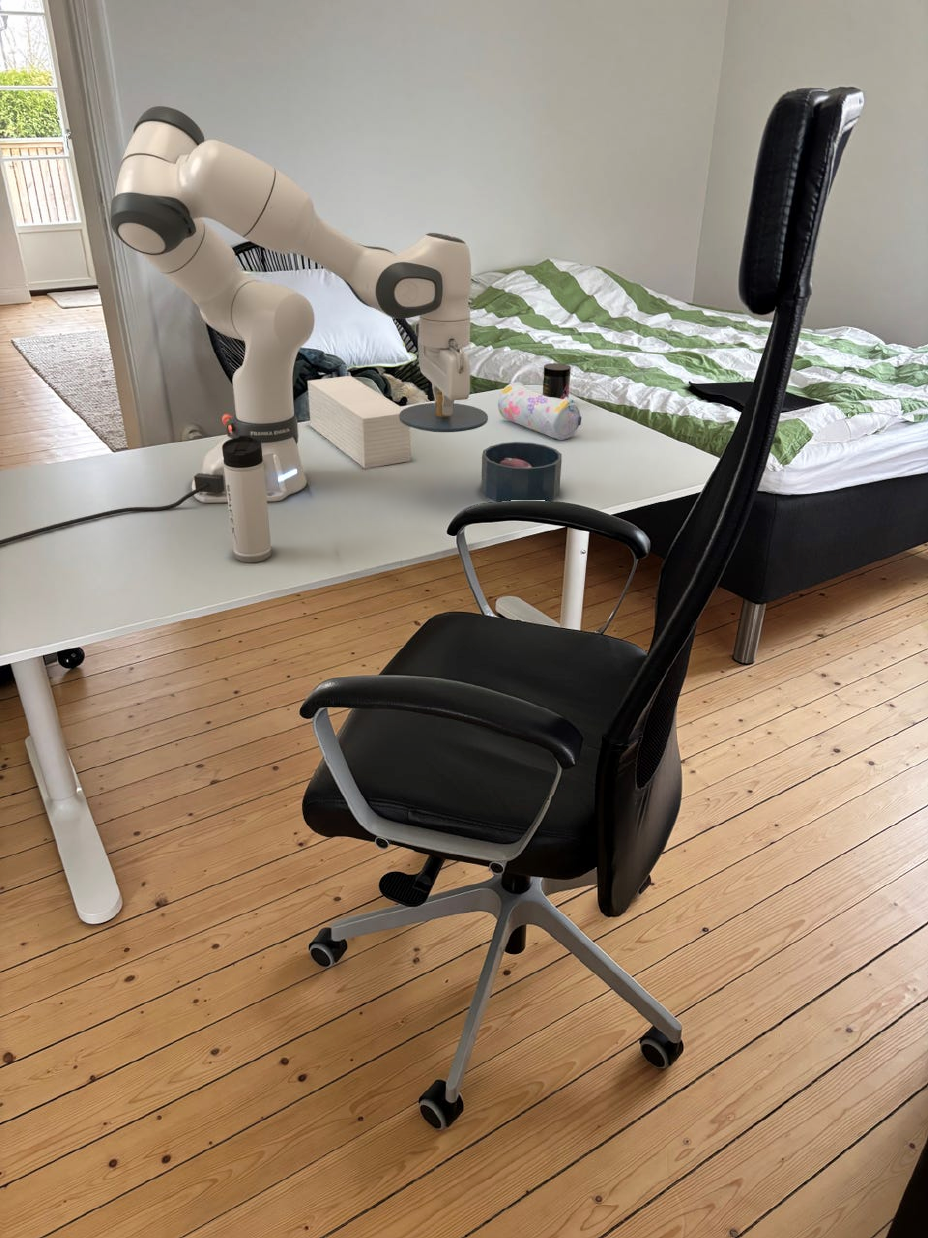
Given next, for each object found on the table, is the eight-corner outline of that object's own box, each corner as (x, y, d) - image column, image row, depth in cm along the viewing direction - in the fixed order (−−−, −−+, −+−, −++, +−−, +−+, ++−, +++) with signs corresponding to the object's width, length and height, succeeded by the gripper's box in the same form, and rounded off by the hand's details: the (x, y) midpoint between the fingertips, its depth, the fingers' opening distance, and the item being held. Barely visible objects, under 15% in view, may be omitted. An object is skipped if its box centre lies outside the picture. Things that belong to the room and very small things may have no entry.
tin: (496, 511, 176) (497, 471, 172) (471, 483, 189) (472, 445, 185) (570, 503, 180) (574, 464, 177) (541, 476, 193) (544, 439, 189)
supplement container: (554, 413, 232) (557, 371, 227) (535, 406, 237) (538, 365, 232) (573, 408, 236) (576, 367, 231) (554, 402, 241) (557, 361, 236)
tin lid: (411, 438, 161) (411, 408, 158) (390, 411, 174) (389, 384, 172) (500, 431, 165) (501, 403, 163) (472, 406, 179) (472, 379, 176)
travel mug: (274, 546, 161) (264, 434, 151) (268, 563, 155) (257, 448, 145) (238, 546, 161) (225, 434, 151) (231, 563, 155) (217, 447, 145)
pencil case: (582, 437, 216) (585, 397, 211) (556, 444, 211) (559, 403, 206) (519, 416, 230) (521, 377, 225) (493, 422, 225) (495, 383, 220)
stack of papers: (410, 461, 200) (410, 412, 195) (364, 468, 195) (363, 418, 190) (352, 420, 224) (350, 375, 219) (310, 426, 219) (307, 380, 214)
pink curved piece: (531, 502, 183) (545, 469, 182) (517, 497, 180) (530, 463, 179) (498, 488, 190) (511, 455, 188) (483, 483, 186) (496, 450, 185)
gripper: (480, 346, 154) (477, 427, 161) (445, 321, 171) (444, 395, 178) (444, 347, 153) (442, 429, 159) (412, 322, 169) (412, 397, 176)
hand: (443, 411), depth 169 cm, fingers closed on tin lid, 2 cm apart
